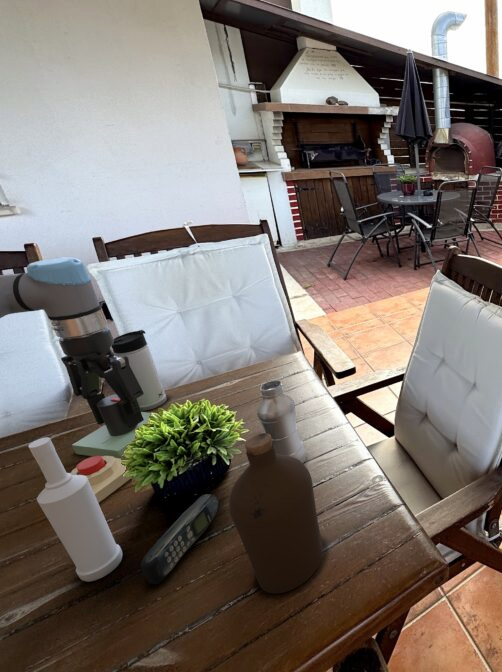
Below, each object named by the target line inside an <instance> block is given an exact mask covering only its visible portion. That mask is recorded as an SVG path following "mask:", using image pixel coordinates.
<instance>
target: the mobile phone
mask: <svg viewBox="0 0 502 672" xmlns="http://www.w3.org/2000/svg"><path fill="white" fill-rule="evenodd" d="M218 509H219V500H217V496H216V495H215V494H213V493H212V494H211V493H210V494H209V493H205V494H202V495H201V496H199V497H198V498H197V499H196V500H195V502H193V503H192V504H191V505H190V506H189V507H188V508H187V509H186V510H184V512H183V513H182V514H181V515H180V516H179V517H178V518H177V520H176V521H175V522H173V524H172V525H171V526H170V527H169V529H167V530H166V531H165V532H164V534H163V535H161V537H160V538H159V539H158V540H157V541H156V543H154V544H153V546H152V547H151V548H150V549H149V550H148V552H146V554H145V555H144V557H142V560H141V563H140V568H141V571H142V573H143V575H144V578H146V581H147V583H149V584H151V585H159V584H160V583H162V582H163V581H164V580H165V579H166V578H167V576H168V575H169V574H170V572H172V570H173V569H174V567H175V566H176V565H177V564H178V562H179V561H180V560H181V559H182V558H183V557H184V555H185V554H186V553H187V552H188V550H189V549H190V548H191V547H192V546H193V545H194V544H195V543H196V542H197V540H198V539H199V538H200V537H201V536H202V535H203V534H204V533H205V532H206V531H207V530H208V528H209V526H210V525H211V524H212V522H213V521H214V518H215V517H216V514H217V513H218Z"/></svg>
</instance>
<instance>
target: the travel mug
mask: <svg viewBox="0 0 502 672" xmlns="http://www.w3.org/2000/svg"><path fill="white" fill-rule="evenodd" d="M145 334H146V331H145V330H144V329H139V330H134V331H129V332H126V333H123V334H120V335H118V336H116V337H115V338H113V339H114V343H113V344H112V345H111V347H110V348H111V350H112V352H113V353H114V355H115V356H116V357H119V358H121V357H123V356H127V357H128V359H129V365H130V367H131V369H132V371H133V373H134V375H135V377H136V379H137V381H138V383H139V385H140V386H141V388H142V390H143V392H144V394H143V395H142V396H140V397H138V398H137V401H138V404H139V407H140V411H141V412H147V411H150V410H153V409H157V408H158V407H160V406H162V405H164V404H165V402H166V401H167V399H168V398H167V395H166V392H165V390H164V386H163V384H162V380H161V377H160V375H159V372H158V369H157V367H156V363H155V361H154V358H153V355H152V353H151V349H150V346H149V345H148V342H147V340H146V336H145Z"/></svg>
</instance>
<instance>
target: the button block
mask: <svg viewBox="0 0 502 672" xmlns="http://www.w3.org/2000/svg"><path fill="white" fill-rule="evenodd" d="M102 458H103V460H104V462H105V466H104V467H103V468H102V469H101V470H99V471H98V472H95V473H93V474H91V475H87V476H86V477H87V478H88V480H89V483H90V485H91V487H92V490H93V492H94V494H95V497H96V499H97V501H98V504H99V503H100V502H102V501H104V500H105V499H106V498H108V497H109V496H110V495H112V493H114V492H116V491H117V490H118V489H119V488H121V487H122V486H123V485H124V484H126V483H127V482H128V481H130V480H131V479H132V478H133V477H123V473H124V472H125V470H126V466H124V465H122V464H121V459H120V458H114V457H113V456H102ZM70 473H71V475H80V474H79V472H78V470H77V468H76V467H75V468H73V469H72V470H71V472H70Z"/></svg>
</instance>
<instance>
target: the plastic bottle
mask: <svg viewBox="0 0 502 672" xmlns="http://www.w3.org/2000/svg"><path fill="white" fill-rule="evenodd" d="M259 391H260V398H262V399H261V401H260V402H259V405H258V406H257V411H256V415H257V418H258V420H259V422H260V424H261V426H262V428H263V429H264V433H268V434H270V435H271V438H272V441H273V442H274V447H275V451H276V454H280V455H286V456H291V457H294V458H296V459H298V460H300V461H301V462H302V463H303V464H304V463H305V461H306V459H307V447H306V445H305V443H304V441H303V439H302V437H301V435H300V432H299V429H298V428H299V427H298V422H297V415H296V403H295V400H294V398H292V397H291V396H290V395H289V394H287V393H286V392H285V387H284V386H283V382H282V380H279V379H272V380H269V381H267V382H264V383H263V384H261V385H260V387H259Z"/></svg>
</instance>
